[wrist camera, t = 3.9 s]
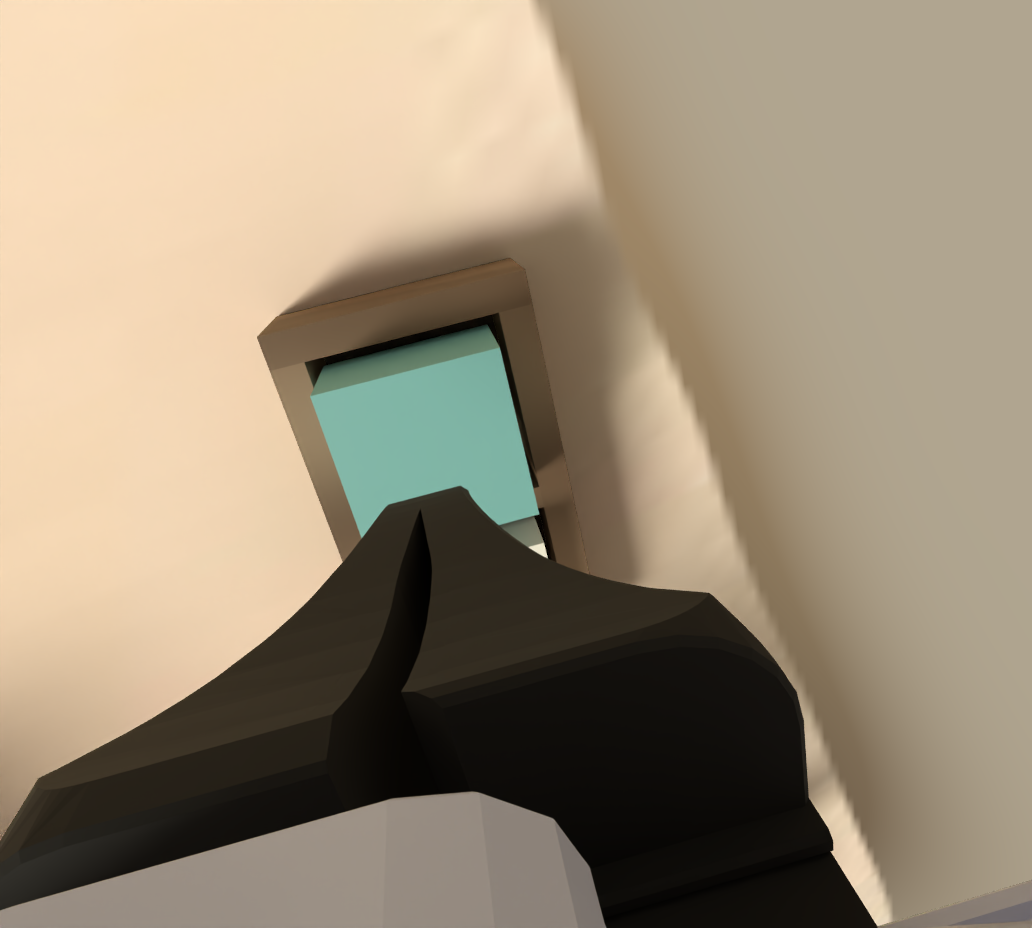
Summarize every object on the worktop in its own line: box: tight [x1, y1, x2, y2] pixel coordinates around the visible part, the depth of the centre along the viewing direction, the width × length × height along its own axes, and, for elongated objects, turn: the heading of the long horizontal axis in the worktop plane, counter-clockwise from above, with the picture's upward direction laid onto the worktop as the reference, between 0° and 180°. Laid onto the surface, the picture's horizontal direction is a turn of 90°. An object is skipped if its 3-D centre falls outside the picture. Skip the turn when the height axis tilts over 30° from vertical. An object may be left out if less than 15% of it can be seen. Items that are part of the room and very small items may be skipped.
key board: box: [257, 258, 590, 575], centre depth 19 cm, size 11×6×2 cm, turn 13°
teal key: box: [310, 324, 539, 538], centre depth 16 cm, size 4×4×2 cm
